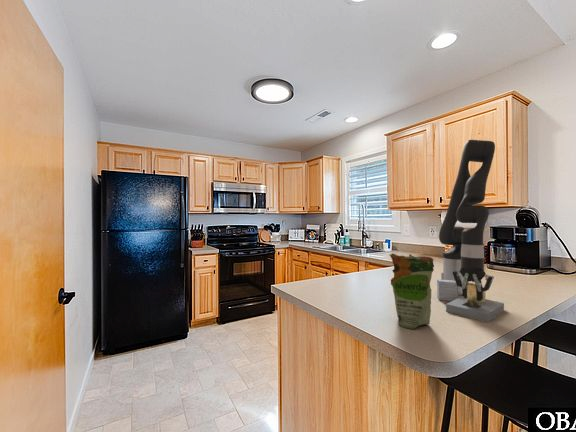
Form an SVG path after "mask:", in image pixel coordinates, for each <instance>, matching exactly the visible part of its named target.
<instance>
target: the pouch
mask: <svg viewBox="0 0 576 432" xmlns="http://www.w3.org/2000/svg"><path fill="white" fill-rule="evenodd" d="M389 256H390V258H391V262H392V264H393V269H392V271H391V272H392V273H393V277H391V279H390V285H391V287H392V292H393V295H394V304H395V310H396V317H397V320H398V323H399V326H401V327H402V328H405V329H409V330H410V329H411V330H414V329H417V327H420V326H422V325H427V326H428V325H430V324H431V323H430V322H431V313H432V310H431V309H432V306H431V304H432V289H431V280H432V277H433V276H432V275H433V272H434V267H435V265H434V258H432V257H431V256H419V255H418V256H415V255H414V256H413V255H412V254H411V253H410V254H409V255H408V256H406V255H398V254H396V253H391V254H389Z"/></svg>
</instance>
